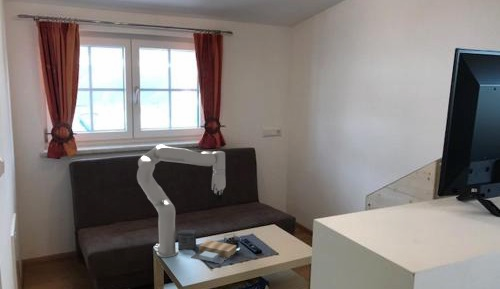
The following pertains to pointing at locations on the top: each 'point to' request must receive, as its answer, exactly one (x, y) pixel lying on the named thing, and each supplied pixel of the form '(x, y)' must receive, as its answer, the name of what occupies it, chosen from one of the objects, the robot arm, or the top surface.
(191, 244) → the small box
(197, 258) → the mat
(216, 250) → the deck
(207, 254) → the grey flat block
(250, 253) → the top surface
